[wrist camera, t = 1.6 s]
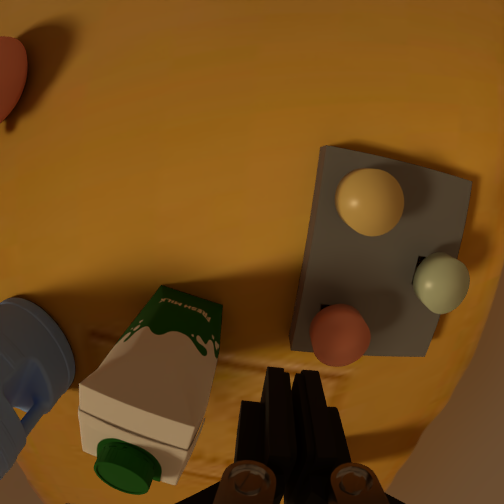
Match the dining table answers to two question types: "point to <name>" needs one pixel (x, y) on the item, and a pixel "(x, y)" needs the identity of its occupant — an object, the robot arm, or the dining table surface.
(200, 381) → the milk carton
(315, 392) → the robot arm
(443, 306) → the pale green ball
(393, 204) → the tan rounded piece
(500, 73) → the dining table surface
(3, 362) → the water jug
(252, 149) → the dining table surface
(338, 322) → the red rounded lump
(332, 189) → the plate
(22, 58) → the sugar bowl
